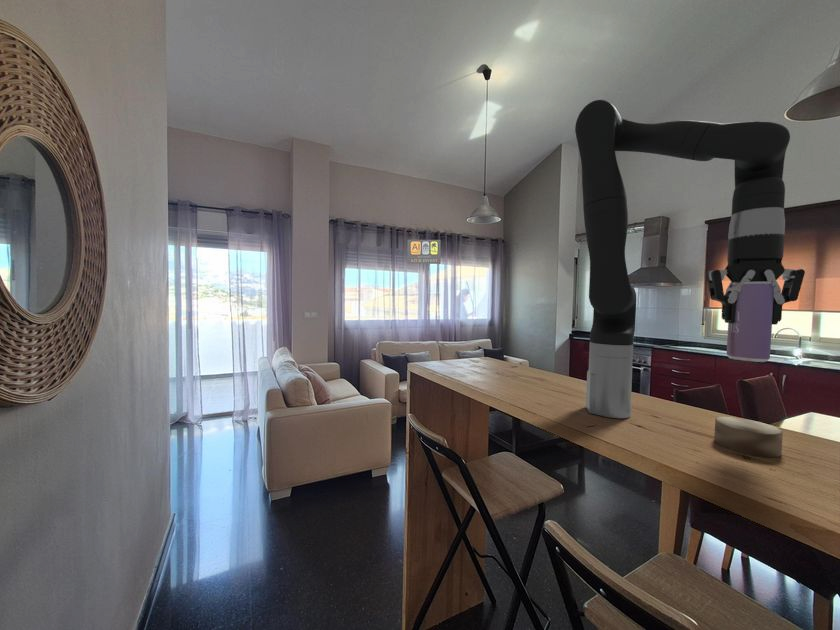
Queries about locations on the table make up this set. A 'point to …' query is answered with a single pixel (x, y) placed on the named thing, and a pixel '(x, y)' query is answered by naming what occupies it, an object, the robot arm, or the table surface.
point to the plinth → (748, 436)
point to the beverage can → (752, 322)
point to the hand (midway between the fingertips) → (750, 323)
